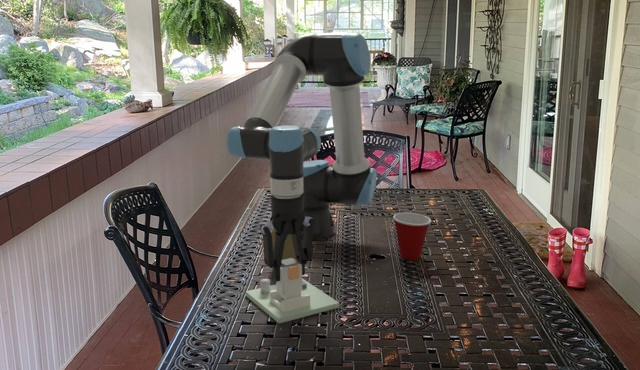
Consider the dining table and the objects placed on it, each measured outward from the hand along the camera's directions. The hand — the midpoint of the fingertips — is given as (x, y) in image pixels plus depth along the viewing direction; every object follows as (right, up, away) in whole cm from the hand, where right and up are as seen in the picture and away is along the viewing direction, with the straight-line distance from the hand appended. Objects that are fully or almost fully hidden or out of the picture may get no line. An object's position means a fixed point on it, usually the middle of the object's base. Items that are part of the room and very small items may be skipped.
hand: (289, 290), depth 151 cm
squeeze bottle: (-3, +1, +25) cm, 25 cm away
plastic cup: (+34, +4, +34) cm, 48 cm away
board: (0, -3, +5) cm, 6 cm away
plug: (0, -1, 0) cm, 1 cm away
